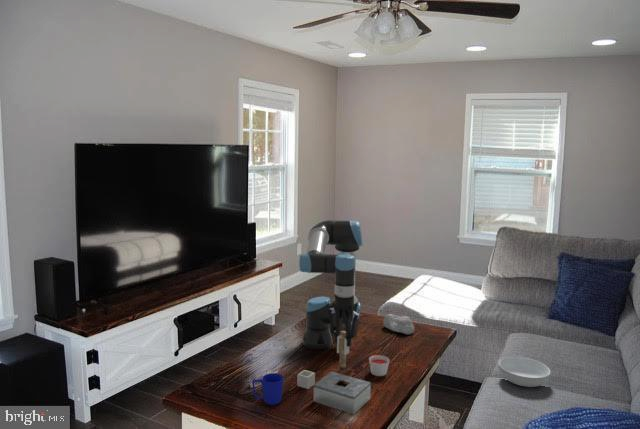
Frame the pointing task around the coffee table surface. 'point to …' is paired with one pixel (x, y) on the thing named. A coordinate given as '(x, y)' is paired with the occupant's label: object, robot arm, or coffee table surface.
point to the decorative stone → (399, 324)
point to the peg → (342, 351)
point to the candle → (379, 365)
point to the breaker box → (342, 392)
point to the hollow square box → (306, 379)
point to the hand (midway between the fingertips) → (343, 352)
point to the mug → (270, 388)
